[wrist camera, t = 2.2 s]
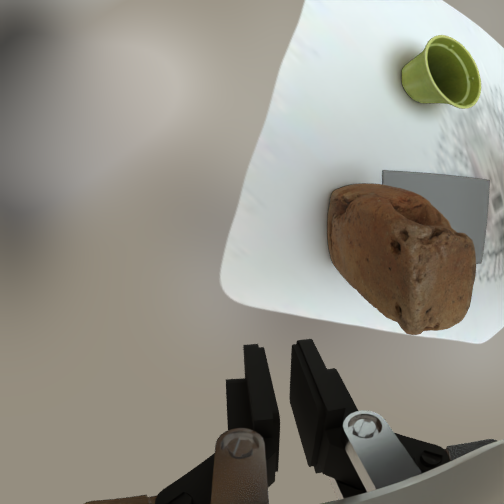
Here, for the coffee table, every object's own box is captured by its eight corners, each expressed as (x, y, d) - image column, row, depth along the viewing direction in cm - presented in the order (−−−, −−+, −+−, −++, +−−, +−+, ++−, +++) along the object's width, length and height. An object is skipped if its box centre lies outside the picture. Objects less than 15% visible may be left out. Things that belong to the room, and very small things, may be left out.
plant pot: (376, 70, 33) (411, 52, 25) (415, 42, 32) (451, 25, 24) (417, 126, 36) (457, 122, 27) (451, 95, 34) (490, 88, 26)
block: (377, 259, 40) (473, 328, 21) (326, 269, 40) (403, 354, 21) (373, 179, 37) (485, 200, 18) (318, 185, 37) (409, 210, 18)
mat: (488, 179, 39) (489, 180, 38) (480, 262, 42) (481, 263, 42) (382, 170, 37) (383, 170, 37) (377, 273, 41) (378, 274, 40)
